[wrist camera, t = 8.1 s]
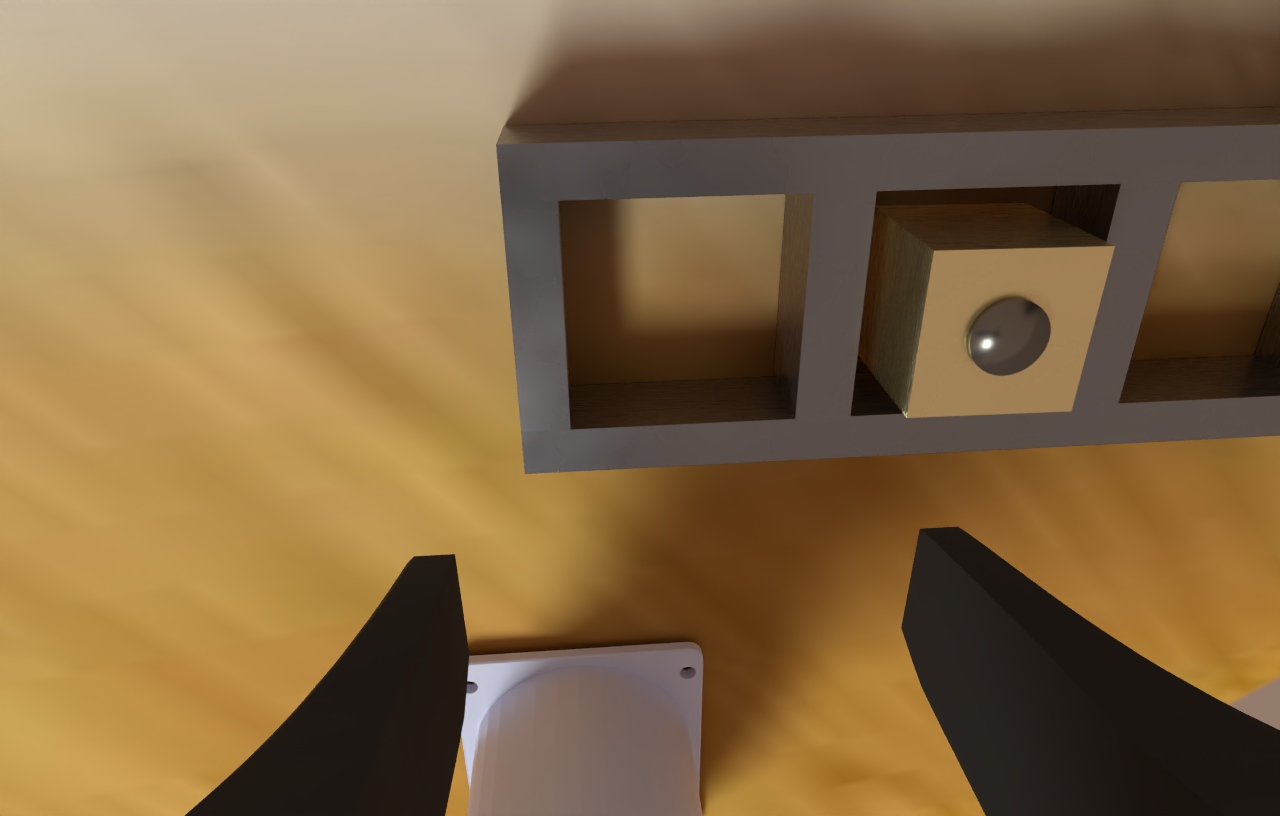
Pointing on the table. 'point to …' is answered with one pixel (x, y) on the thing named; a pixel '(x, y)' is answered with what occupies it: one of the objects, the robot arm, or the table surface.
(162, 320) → the table surface
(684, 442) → the grey flat rectangular frame
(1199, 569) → the table surface
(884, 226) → the drawer with knob
